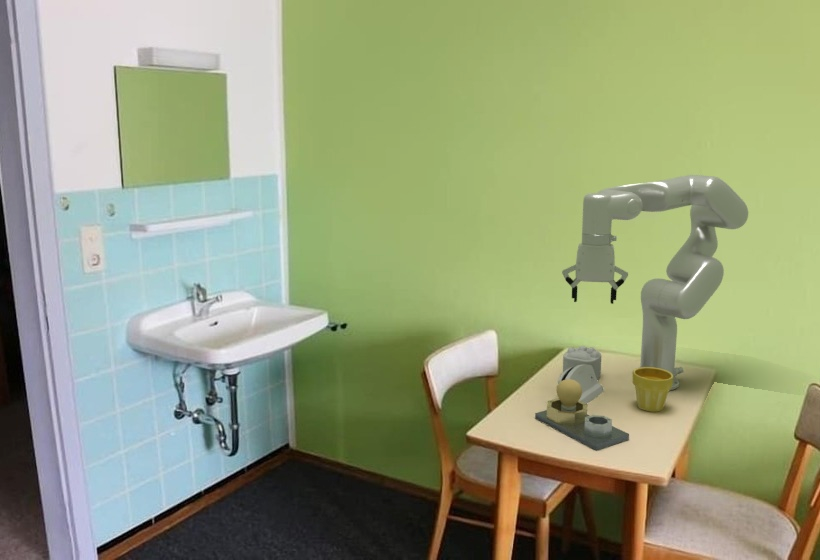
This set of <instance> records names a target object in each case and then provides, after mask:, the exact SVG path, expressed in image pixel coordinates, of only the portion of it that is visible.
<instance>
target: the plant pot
mask: <svg viewBox="0 0 820 560" xmlns="http://www.w3.org/2000/svg"><path fill="white" fill-rule="evenodd" d="M632 384H633V385H634V389H635V395H636V403H637V407H638V408H639V409H641V410H643V411H646V412H653V413H654V412H660V411H663V409H664V407H665V403H666V400H667V397H668V394H669V391H671V390H670V389H671V388H672V384H673V374H672V373H670V372H669V371H667V370H664V369H660V368H654V367H641V368H640V367H638V368H635V369H634V370H633V371H632Z"/></svg>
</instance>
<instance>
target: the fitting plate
mask: <svg viewBox="0 0 820 560" xmlns="http://www.w3.org/2000/svg"><path fill="white" fill-rule="evenodd" d="M546 404H547V406H546V409H545V410H542V411H538V412H535V413H534V419H535V420H538V422H541V423H543V424H545V425H547V426H548V427H551V428H552V429H555V430H556V431H558V432H559V433H561V434H564V435H565V436H567V437H570V438H571V439H573V440H574V441H577V442H579V443H580V444H583V445H584V446H587V447H589V449H592V450H594V451H599V450H602V449H605V448H608V447H612V446H614V445H617V444H620V443H623V442H626V441H629V440H630V433H628V432H626V431H624V430H622V429H620V428H618V427H615V426H613V419H612V418H610V417H607V416H605V415H602V414H601V415H600V414H599V415H598V414H591V415H590V414H588V403H587V404H586V403H583V402H581V401H578V402H577V403H576V404H575V405H576V412H564V411H561V408H562V407H561V405H562V402H561V401H560V399H559V398H558V397H557V398H555V399H550V400H548V401H547V403H546Z"/></svg>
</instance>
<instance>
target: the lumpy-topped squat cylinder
mask: <svg viewBox="0 0 820 560" xmlns="http://www.w3.org/2000/svg"><path fill="white" fill-rule="evenodd" d="M582 364H586V365H591V366H592V367H593V370H594V373H595V375H596V378H597V380H598V381H599V380H600V379H601V377H602V376H601V375H602V354H601V352H600V351H599V350H597V349H595V348H594V347H587V346H585V345H581V346H579V347H576V348H575V347H572V346H570V347H569V348H568V349H567V351H566V352H565V353H564V354H563V357H562V373H563V372H564V371H565V370H567V369H568V368H570V367H573V366H576V365H582ZM599 378H600V379H599Z"/></svg>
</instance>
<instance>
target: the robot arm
mask: <svg viewBox="0 0 820 560" xmlns="http://www.w3.org/2000/svg"><path fill="white" fill-rule="evenodd" d="M687 206H690V211H689V212H690V213H689V216H690V233H689V236H688V238H687V239H686V241H685V242H684V243H683V245H682V246H681V247H680V248H679V249H678V251H677V252H676V253H675V254H674V255H673V257H672V258H671V260H670V261H669V263H668V264H667V267H666V270H665V271H666V275H667V277H668V279H665V278H652V279H650V280H648V281H646V283H644V284H643V286H642V288H641V290H640V303H641V310H642V329H641V330H642V331H641V333H642V334H641V349H640V350H641V351H640V365H639V366H640V367H639V368H641V367H654V368H660V369H664V370H667V371H669V372H670V373H672V374H673V384H672V388H671V389H670V390H669V391H674V390H676V389H678V388H679V386H680V382H679V379H677V378H676V376H677V375H680V374H682V373H684V371H685V369H684V367H682V366H678V367H676V366H675V365H676V363H675V362H676V349H677V338H678V337H677V335H678V324H677V320H676V319H681V320H689V319H691V318H692V319H693V317H695V316H697V314H698V313H700V311H701V310H702V309H703V307H705V305H706V304H707V302H708V301H709V300H710V299H711V297H712V296H713V295H714V294H715V292H716V291H717V290H718V288H719V287H720V285H721V283H722V281H723V278H724V275H725V273H724V271H725V270H724V266H723V264H722V262H721V260H720V259H717V258H715V257H713V256H714V255H715V253H716V252H717V249H718V244H719V243H718V237H717V233H716V228H720V229H727V230H736V229H737V230H738V229H741V228H742V227H743V226H744V225H745V224H747V221H748V218H749V209H748V206H747V204H746V202H745V201H744V199H742V198H741V197H740V195H738V194H737V192H736V191H734V190H733V188H732V187H731V186H729V184H728V183H726V182H725V181H724V180H723V179H721V178H720V177H718V176H714V175H703V174H702V175H701V174H688V175H687V174H686V175H682V176H681V175H680V176H677V177H673V178H667V179H663V180H657V181H647V182H640V183H633V184H632V183H631V184H625V185H616V186H612V187H607V188H603V189H600V190H599V191H597V192H590V193H586V194H584V196H583V202H582V221H581V222H582V225H581V226H582V228H581V242H580V243H578V246H577V247H578V248H577V251H576V257H575V259H576V260H575V264H573V265H570V266H569V267H567V268H565V269H563V270H562V271H561V272H562V273H561V274H562V276H563V278H564V280H565V281H566V282H567V284H568V285H569V286H570V287H571V299H573V302H574V303H576V302H577V301H578V284H580V282H586V283H587V282H588V283H589V282H590V283H609V285H610V286H611V288H610V304H611V305H614V301H617V292H618V289H619V288H620V287H621V286H622V285H623V284H624V283H625V281H626V280H627V278H628V277H629V272H628V271H626V270H624V269H622V268H620V267H619V266H616V265H615V263H616V262H615V258H616V257H615V248H614V244H612V242H616V241H617V235H613V234H612V224H613V222H612V221H613V220H616V221H617V220H620V221H630V220H633V219H636V218H637V217H638V216H639V215H640V214H641V213H642V212H647V213H648V212H649V213H650V212H651V213H654V212H656V213H658V212H660V213H661V212H666V211H670V210H674V209H675V210H676V209H680V208H683V207H687ZM572 272H575V278H574V279H573V278H571V277H570V275H569V274H570V273H572ZM615 273H616V274H618V275H620V276H621V277H620V278H619V279H618V280H617V281H616V280H615ZM669 279H670V280H669Z"/></svg>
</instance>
